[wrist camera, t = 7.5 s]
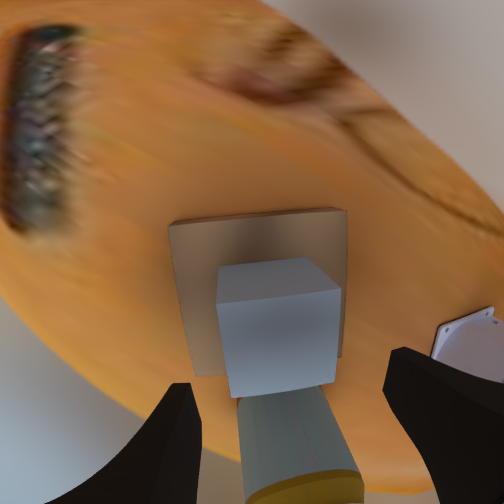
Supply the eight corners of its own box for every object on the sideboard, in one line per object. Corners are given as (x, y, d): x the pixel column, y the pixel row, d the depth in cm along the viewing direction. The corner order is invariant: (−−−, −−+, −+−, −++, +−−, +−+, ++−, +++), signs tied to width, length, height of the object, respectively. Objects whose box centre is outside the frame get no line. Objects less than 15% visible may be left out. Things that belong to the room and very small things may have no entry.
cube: (307, 256, 16) (341, 288, 11) (308, 333, 17) (334, 381, 12) (218, 266, 15) (215, 303, 10) (228, 343, 17) (231, 398, 12)
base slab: (333, 207, 17) (346, 210, 15) (331, 342, 20) (341, 357, 18) (174, 221, 16) (167, 226, 15) (197, 360, 19) (195, 376, 17)
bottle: (232, 372, 19) (249, 568, 5) (322, 360, 20) (408, 526, 5) (240, 429, 21) (258, 578, 7) (317, 417, 22) (370, 553, 7)
